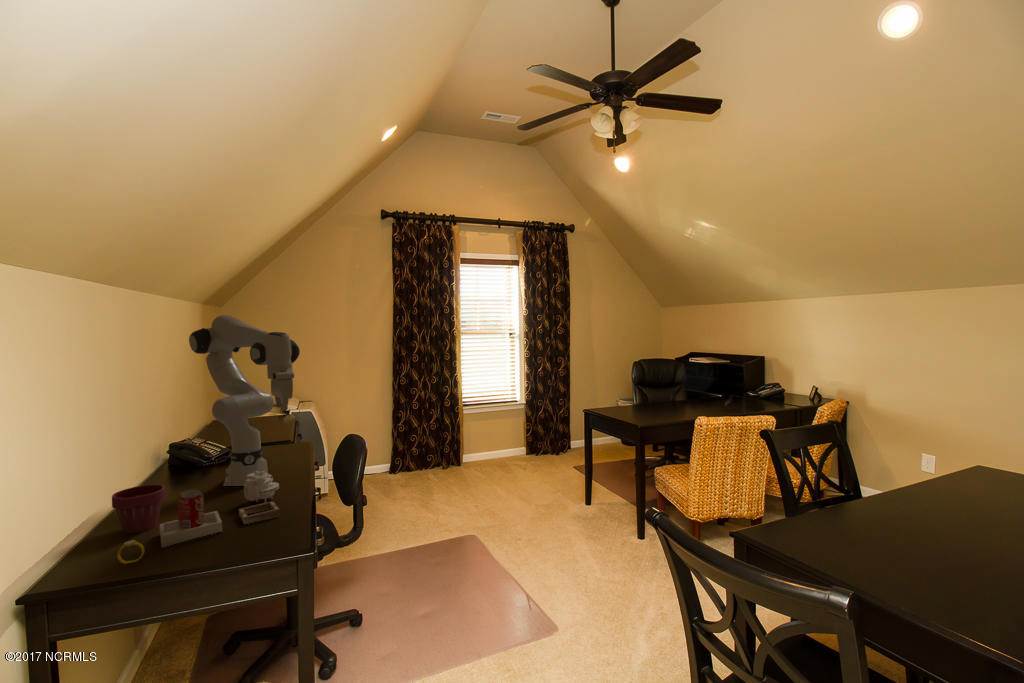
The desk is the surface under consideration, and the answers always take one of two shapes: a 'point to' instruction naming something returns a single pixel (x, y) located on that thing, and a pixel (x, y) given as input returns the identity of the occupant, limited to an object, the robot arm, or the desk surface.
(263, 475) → the mechanical part
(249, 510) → the can holder
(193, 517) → the soda can
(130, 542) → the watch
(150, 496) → the plant pot
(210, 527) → the tray
